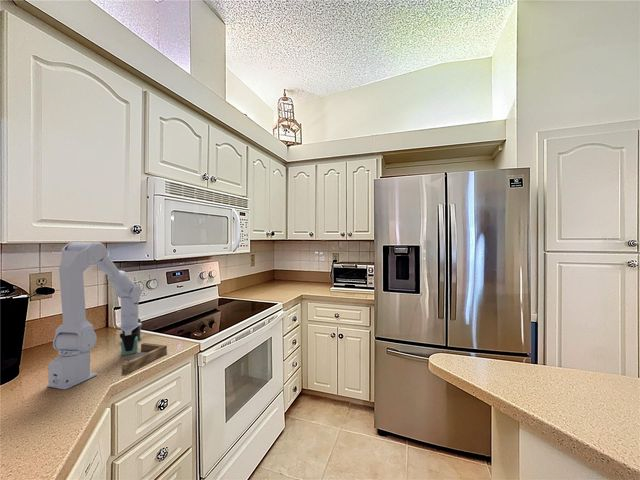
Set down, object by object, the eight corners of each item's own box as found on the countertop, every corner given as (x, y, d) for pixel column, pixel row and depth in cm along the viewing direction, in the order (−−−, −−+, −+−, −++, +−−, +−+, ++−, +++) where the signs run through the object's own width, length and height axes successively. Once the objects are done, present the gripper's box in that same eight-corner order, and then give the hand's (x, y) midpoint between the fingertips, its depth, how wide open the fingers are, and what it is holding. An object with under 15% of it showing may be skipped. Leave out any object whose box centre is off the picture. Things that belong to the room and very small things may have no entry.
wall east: (163, 354, 108) (163, 347, 108) (141, 351, 111) (141, 344, 111) (166, 353, 110) (166, 345, 110) (144, 350, 113) (144, 342, 113)
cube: (136, 352, 110) (136, 340, 110) (121, 355, 108) (121, 342, 108) (137, 348, 115) (137, 336, 115) (122, 350, 112) (122, 338, 112)
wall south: (125, 374, 93) (125, 365, 93) (122, 373, 93) (121, 364, 93) (163, 354, 108) (163, 347, 108) (160, 354, 109) (160, 346, 109)
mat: (139, 361, 102) (139, 361, 102) (124, 359, 104) (124, 359, 104) (155, 354, 109) (155, 353, 109) (140, 352, 111) (140, 351, 111)
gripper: (140, 316, 107) (140, 352, 107) (142, 308, 120) (142, 340, 120) (118, 319, 103) (118, 356, 104) (122, 310, 116) (122, 343, 116)
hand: (129, 348), depth 111 cm, fingers open, 6 cm apart
